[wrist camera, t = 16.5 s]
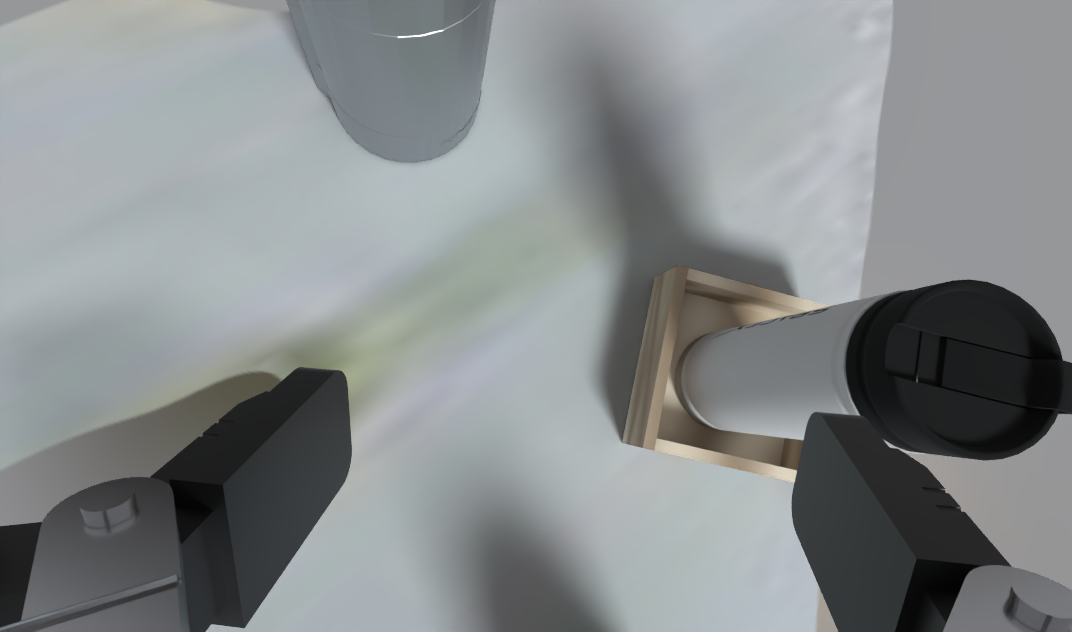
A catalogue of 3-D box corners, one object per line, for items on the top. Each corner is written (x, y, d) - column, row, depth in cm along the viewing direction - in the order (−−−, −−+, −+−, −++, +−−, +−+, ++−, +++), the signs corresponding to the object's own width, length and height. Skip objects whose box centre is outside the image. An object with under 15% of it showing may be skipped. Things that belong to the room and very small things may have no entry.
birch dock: (621, 442, 40) (642, 447, 36) (654, 277, 41) (678, 265, 38) (779, 478, 41) (816, 487, 37) (804, 317, 43) (842, 309, 39)
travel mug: (761, 440, 40) (1076, 484, 21) (665, 418, 39) (898, 441, 20) (777, 346, 41) (1090, 301, 22) (683, 322, 40) (922, 253, 21)
